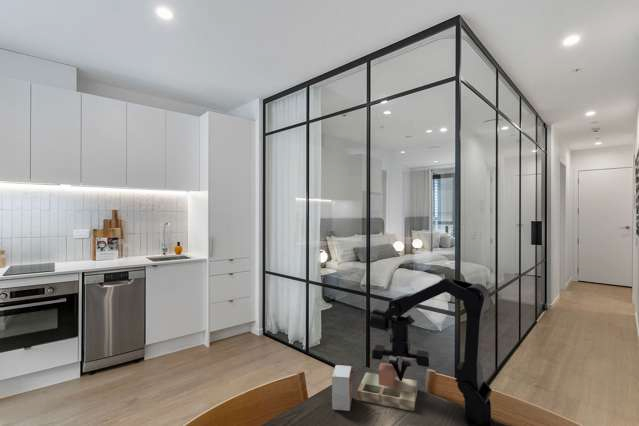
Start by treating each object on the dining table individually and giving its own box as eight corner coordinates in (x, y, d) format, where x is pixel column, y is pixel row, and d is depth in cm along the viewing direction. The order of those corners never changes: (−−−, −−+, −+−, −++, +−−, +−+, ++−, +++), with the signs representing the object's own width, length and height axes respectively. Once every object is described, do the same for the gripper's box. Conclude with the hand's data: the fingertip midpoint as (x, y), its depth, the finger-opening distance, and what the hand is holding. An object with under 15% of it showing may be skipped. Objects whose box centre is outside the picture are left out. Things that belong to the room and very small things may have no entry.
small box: (349, 411, 100) (349, 377, 100) (332, 409, 101) (331, 376, 101) (352, 397, 107) (352, 365, 107) (335, 395, 109) (335, 364, 109)
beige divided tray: (417, 389, 112) (417, 380, 112) (414, 411, 99) (414, 401, 99) (366, 380, 118) (366, 372, 118) (357, 399, 106) (357, 390, 106)
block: (395, 379, 113) (395, 365, 113) (393, 386, 108) (393, 371, 108) (381, 376, 115) (381, 362, 115) (378, 383, 110) (378, 369, 110)
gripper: (430, 329, 114) (430, 373, 114) (377, 323, 121) (378, 365, 121) (428, 341, 103) (429, 389, 104) (371, 334, 110) (371, 380, 110)
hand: (400, 380), depth 110 cm, fingers closed
